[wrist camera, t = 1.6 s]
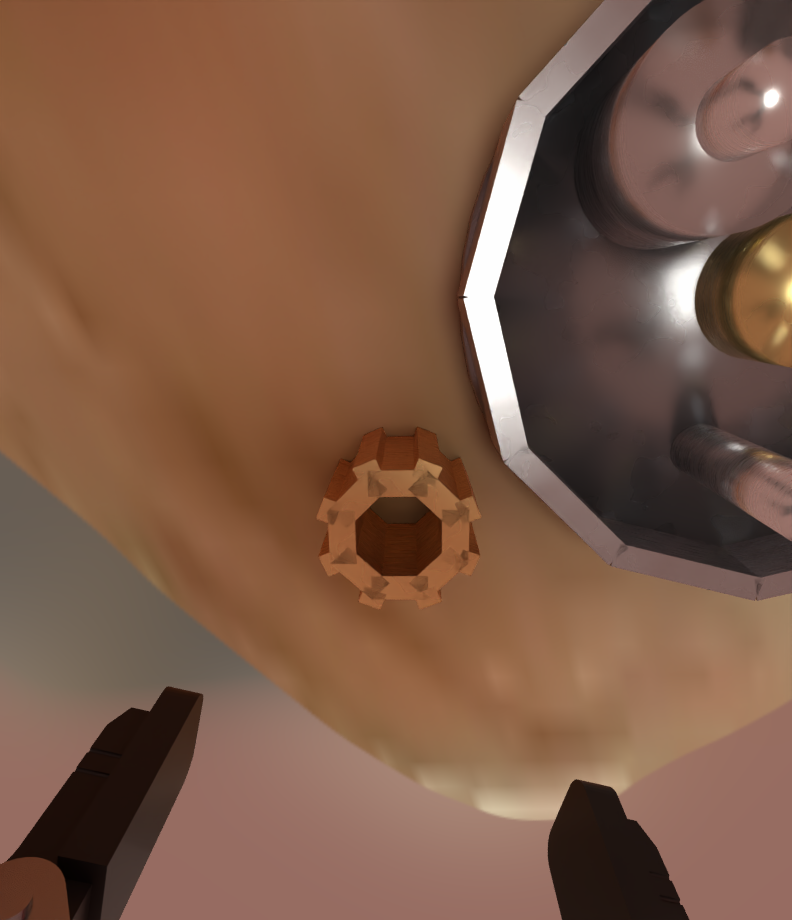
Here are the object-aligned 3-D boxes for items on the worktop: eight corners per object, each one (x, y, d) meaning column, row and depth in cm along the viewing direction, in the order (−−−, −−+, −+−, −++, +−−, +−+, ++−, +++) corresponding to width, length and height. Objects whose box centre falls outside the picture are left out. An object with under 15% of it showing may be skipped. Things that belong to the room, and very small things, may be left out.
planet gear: (307, 492, 25) (283, 538, 20) (399, 398, 24) (396, 424, 19) (402, 575, 26) (400, 637, 21) (494, 490, 25) (515, 536, 20)
